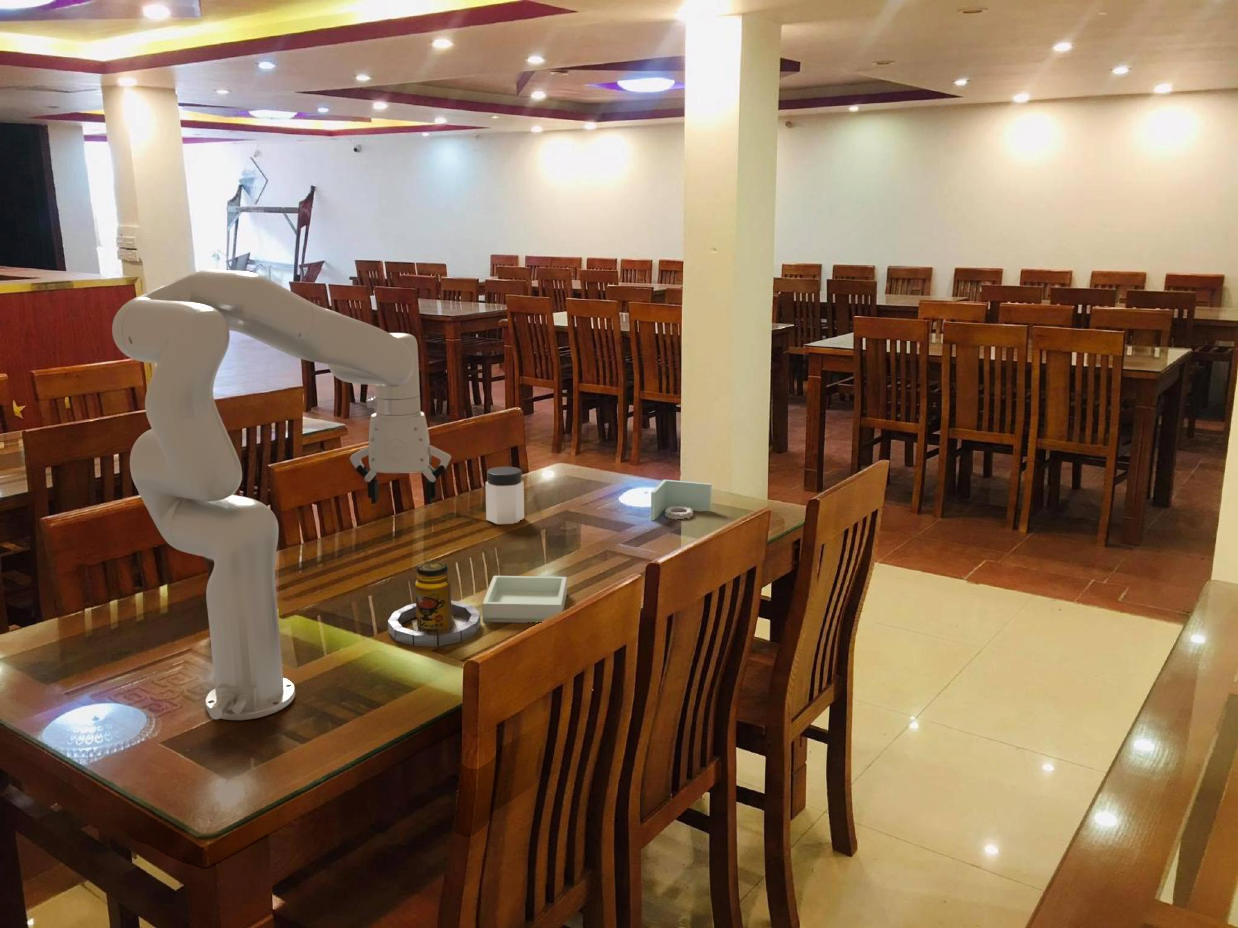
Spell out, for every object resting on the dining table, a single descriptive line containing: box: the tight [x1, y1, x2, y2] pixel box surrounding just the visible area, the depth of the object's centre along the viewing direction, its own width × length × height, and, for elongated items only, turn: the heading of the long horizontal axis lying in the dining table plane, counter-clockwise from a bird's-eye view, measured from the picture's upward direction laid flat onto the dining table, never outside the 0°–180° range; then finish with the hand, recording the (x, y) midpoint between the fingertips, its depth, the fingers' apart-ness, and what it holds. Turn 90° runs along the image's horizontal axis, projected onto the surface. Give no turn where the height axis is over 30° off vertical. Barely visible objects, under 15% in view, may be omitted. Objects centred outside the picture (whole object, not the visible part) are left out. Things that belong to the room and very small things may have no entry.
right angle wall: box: [650, 479, 712, 521], centre depth 243 cm, size 12×12×8 cm
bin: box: [481, 575, 568, 624], centre depth 186 cm, size 14×14×4 cm
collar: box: [387, 600, 481, 648], centre depth 177 cm, size 16×16×2 cm
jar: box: [485, 466, 525, 525], centre depth 238 cm, size 9×8×12 cm
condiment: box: [411, 560, 458, 632], centre depth 176 cm, size 7×8×12 cm
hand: (402, 501), depth 177 cm, fingers open, 9 cm apart
